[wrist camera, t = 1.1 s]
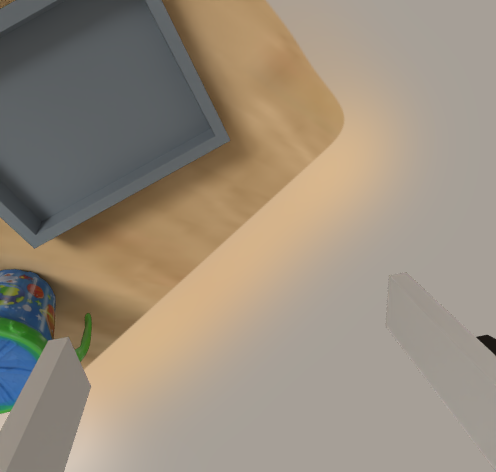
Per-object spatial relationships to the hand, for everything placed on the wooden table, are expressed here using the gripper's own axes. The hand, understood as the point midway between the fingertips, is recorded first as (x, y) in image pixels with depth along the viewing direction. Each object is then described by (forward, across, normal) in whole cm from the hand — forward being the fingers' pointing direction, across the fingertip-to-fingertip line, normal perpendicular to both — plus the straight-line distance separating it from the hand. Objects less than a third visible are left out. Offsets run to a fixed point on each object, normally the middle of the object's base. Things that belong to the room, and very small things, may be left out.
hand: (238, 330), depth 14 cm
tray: (+21, -10, +8) cm, 25 cm away
